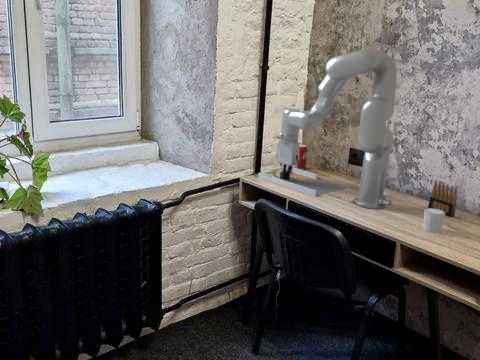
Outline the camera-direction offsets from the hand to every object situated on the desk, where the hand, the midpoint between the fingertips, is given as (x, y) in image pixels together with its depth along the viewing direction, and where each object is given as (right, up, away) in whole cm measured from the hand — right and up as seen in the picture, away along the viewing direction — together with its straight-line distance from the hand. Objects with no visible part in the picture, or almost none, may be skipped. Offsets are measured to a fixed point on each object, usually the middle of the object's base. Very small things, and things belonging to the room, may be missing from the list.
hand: (285, 179), depth 216 cm
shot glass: (+47, -18, -43) cm, 66 cm away
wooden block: (-2, 0, +5) cm, 5 cm away
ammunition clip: (+58, -13, -23) cm, 64 cm away
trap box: (+7, -3, +1) cm, 8 cm away
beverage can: (+9, +5, +29) cm, 31 cm away
